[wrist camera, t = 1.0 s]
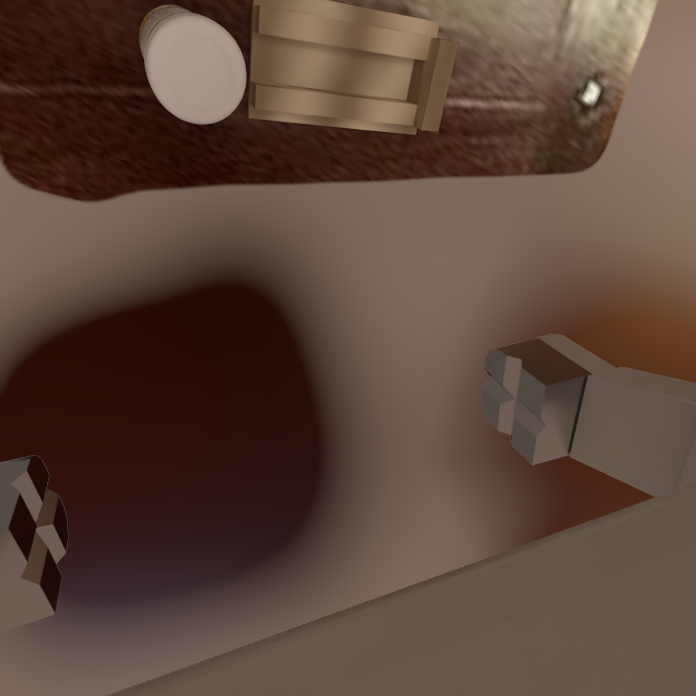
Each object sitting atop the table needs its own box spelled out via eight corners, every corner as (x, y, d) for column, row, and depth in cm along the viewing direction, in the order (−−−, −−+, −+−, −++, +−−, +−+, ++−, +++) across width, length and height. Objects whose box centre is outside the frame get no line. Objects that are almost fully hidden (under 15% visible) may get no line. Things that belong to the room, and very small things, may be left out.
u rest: (247, 116, 37) (258, 128, 34) (252, -15, 33) (265, -14, 30) (412, 133, 42) (434, 145, 39) (436, 21, 38) (463, 26, 35)
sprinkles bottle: (164, 94, 35) (182, 143, 25) (123, 21, 32) (123, 43, 22) (223, 64, 35) (264, 100, 25) (187, -11, 32) (217, -5, 22)
